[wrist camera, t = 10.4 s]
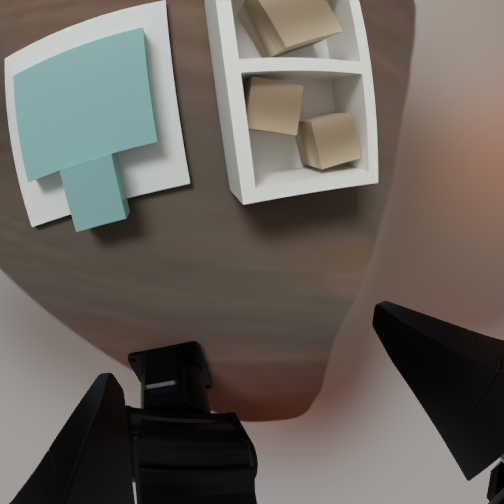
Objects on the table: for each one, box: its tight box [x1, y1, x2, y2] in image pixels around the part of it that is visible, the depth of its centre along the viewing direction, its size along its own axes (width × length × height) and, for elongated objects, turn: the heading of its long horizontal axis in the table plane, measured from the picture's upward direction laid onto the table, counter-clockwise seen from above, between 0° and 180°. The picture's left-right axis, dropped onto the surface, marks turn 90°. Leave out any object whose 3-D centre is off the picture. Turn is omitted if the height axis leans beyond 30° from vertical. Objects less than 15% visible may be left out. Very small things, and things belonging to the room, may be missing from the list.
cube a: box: [295, 113, 361, 170], centre depth 17 cm, size 3×3×3 cm
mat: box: [5, 0, 190, 227], centre depth 14 cm, size 13×12×1 cm
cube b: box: [242, 76, 304, 135], centre depth 15 cm, size 3×3×3 cm
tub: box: [204, 0, 378, 205], centre depth 15 cm, size 15×9×4 cm, turn 8°
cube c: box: [237, 0, 343, 58], centre depth 13 cm, size 4×4×4 cm
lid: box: [13, 27, 159, 232], centre depth 14 cm, size 12×9×2 cm
